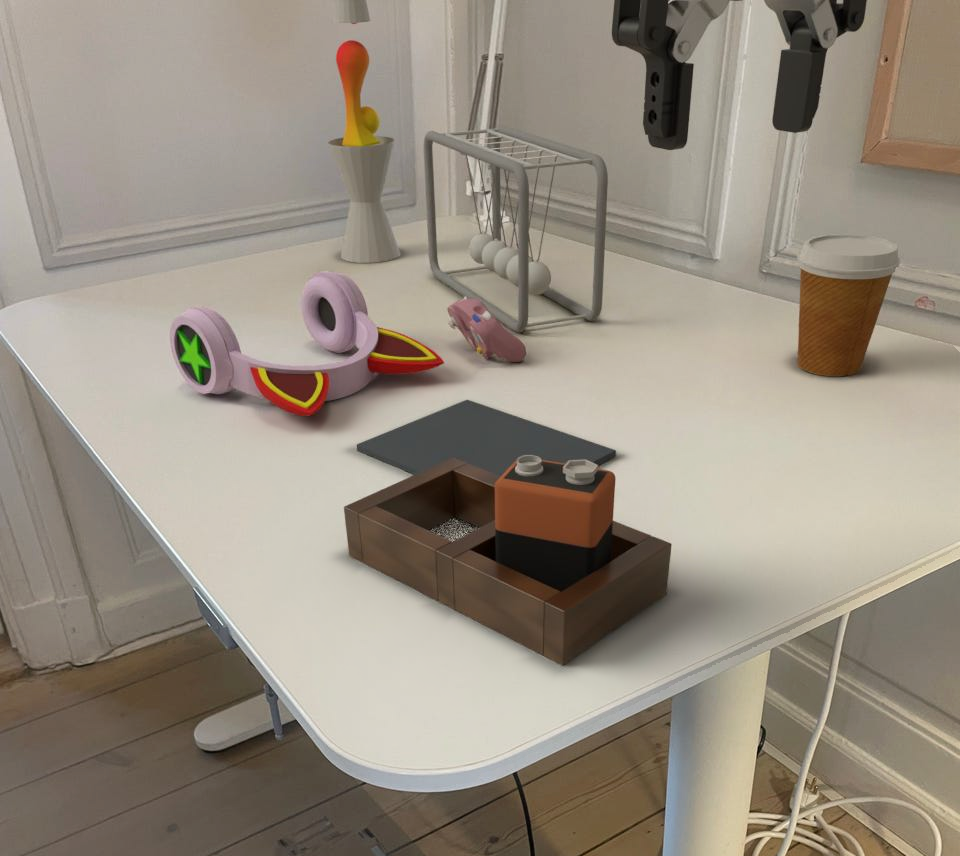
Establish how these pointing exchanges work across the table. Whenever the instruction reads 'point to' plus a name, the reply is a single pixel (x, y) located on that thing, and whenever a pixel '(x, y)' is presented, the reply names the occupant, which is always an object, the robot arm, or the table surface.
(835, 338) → the disposable coffee cup
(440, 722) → the table surface
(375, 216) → the lava lamp
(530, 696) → the table surface
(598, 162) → the newton's cradle
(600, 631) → the tray
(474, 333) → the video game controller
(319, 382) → the headphones
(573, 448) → the mat
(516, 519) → the battery
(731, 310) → the table surface
